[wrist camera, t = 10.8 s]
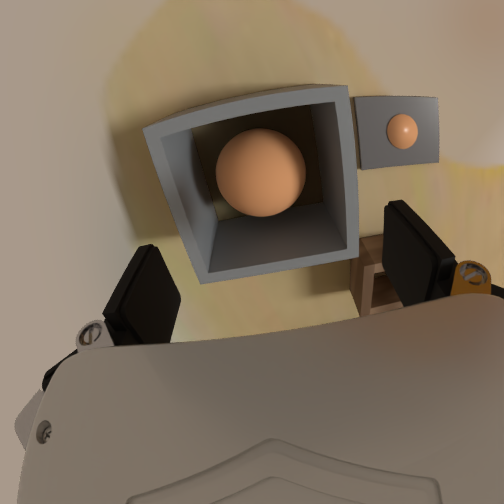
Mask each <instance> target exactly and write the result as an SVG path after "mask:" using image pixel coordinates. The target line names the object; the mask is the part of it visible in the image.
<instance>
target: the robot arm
mask: <svg viewBox="0 0 504 504" xmlns="http://www.w3.org/2000/svg"><path fill="white" fill-rule="evenodd" d="M382 266H383V269H384V271H385V272H386V274H387V276H388V278H389V280H390V282H391V283H392V285H393V287H394V289H395V291H396V293H397V295H398V297H399V299H400V301H401V303H402V305H403V307H402V308H398V309H394V310H389V311H385V312H381V313H376V314H372V315H367V316H363V317H358V318H353V319H348V320H343V321H338V322H332V323H327V324H321V325H315V326H310V327H304V328H298V329H291V330H285V331H278V332H271V333H264V334H256V335H248V336H240V337H231V338H222V339H212V340H201V341H189V342H176V343H170V340H171V336H172V332H173V329H174V325H175V321H176V317H177V314H178V310H179V306H180V303H181V296H180V293H179V291H178V289H177V287H176V285H175V283H174V281H173V279H172V277H171V275H170V272H169V270H168V268H167V266H166V264H165V262H164V259H163V257H162V255H161V253H160V251H159V249H158V247H154V245H153V244H149V245H144V246H140V247H138V249H137V251H136V252H135V254H134V256H133V257H132V259H131V261H130V263H129V264H128V267H127V268H126V270H125V272H124V273H123V275H122V277H121V279H120V281H119V283H118V284H117V286H116V288H115V290H114V292H113V294H112V296H111V297H110V300H109V302H108V303H107V305H106V307H105V309H104V311H103V313H102V314H103V315H104V317H105V321H104V322H103V321H101V320H94V321H92V322H89V323H88V324H86V325H85V326H84V327H83V328H82V329H81V330H80V331H79V333H78V335H77V337H76V346H77V349H76V350H75V351H74V352H72V353H71V354H69V355H68V356H67V357H65V358H64V359H63V360H61V361H60V362H59V363H58V364H56V365H55V366H53V367H52V368H51V369H49V370H48V371H47V372H46V373H45V375H44V379H43V382H42V388H43V391H41V390H39V391H38V392H37V393H36V394H35V395H34V396H33V398H32V399H31V400H30V401H29V403H28V404H27V405H26V406H25V407H24V409H23V410H22V411H21V413H20V414H19V415H18V417H17V418H16V421H15V431H16V434H17V435H18V438H19V440H20V442H21V443H22V445H23V447H24V449H25V451H26V452H25V456H24V460H23V466H22V471H21V476H20V483H19V490H18V498H17V504H504V288H501V287H499V286H496V285H493V284H491V275H490V273H489V271H488V270H487V269H486V268H485V267H484V266H483V265H482V264H480V263H478V262H475V261H470V260H468V261H462V262H460V263H459V264H458V263H457V262H456V260H455V255H454V254H453V253H452V252H451V251H450V249H449V248H448V247H447V246H446V245H445V244H444V243H443V241H442V240H441V239H440V238H439V237H438V236H437V235H436V234H435V233H434V231H433V230H432V229H431V228H430V227H429V226H428V225H427V224H426V223H425V222H424V221H423V220H422V219H421V218H420V217H419V216H418V215H417V214H416V213H415V212H414V211H413V210H412V209H411V208H410V207H409V206H408V205H407V204H406V203H405V202H404V201H403V200H396V201H389V203H388V205H386V206H385V208H384V233H383V250H382Z"/></svg>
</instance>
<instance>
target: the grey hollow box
mask: <svg viewBox="0 0 504 504" xmlns="http://www.w3.org/2000/svg"><path fill="white" fill-rule="evenodd" d="M308 104H310V108H311V114H312V120H313V126H314V133H315V140H316V146H317V154H318V161H319V169H320V177H321V185H322V195H323V202H321V203H315V204H309V205H303V206H298V207H292V208H287V209H286V210H284V211H282V212H280V213H278V214H275V215H271V216H265V217H257V216H251V215H248V216H243V217H238V218H233V219H228V220H223V221H218V218H217V215H216V212H215V208H214V205H213V202H212V198H211V195H210V192H209V189H208V185H207V182H206V179H205V175H204V172H203V169H202V165H201V162H200V158H199V155H198V151H197V148H196V145H195V141H194V138H193V134H192V131H191V128H194V127H198V126H201V125H205V124H209V123H213V122H217V121H221V120H225V119H230V118H234V117H238V116H243V115H248V114H253V113H258V112H263V111H269V110H275V109H281V108H287V107H294V106H301V105H308ZM142 130H143V133H144V136H145V139H146V142H147V145H148V148H149V151H150V154H151V157H152V160H153V163H154V166H155V169H156V172H157V175H158V178H159V180H160V183H161V186H162V189H163V191H164V194H165V197H166V200H167V202H168V205H169V208H170V210H171V213H172V216H173V218H174V221H175V223H176V226H177V229H178V231H179V234H180V236H181V239H182V241H183V244H184V246H185V249H186V251H187V254H188V256H189V258H190V261H191V263H192V266H193V268H194V270H195V273H196V275H197V278H198V280H199V282H200V284H206V283H212V282H219V281H225V280H231V279H237V278H244V277H250V276H256V275H262V274H268V273H273V272H279V271H285V270H291V269H297V268H302V267H308V266H313V265H319V264H324V263H330V262H335V261H341V260H346V259H351V258H356V257H359V202H358V180H357V164H356V151H355V140H354V131H353V122H352V114H351V106H350V99H349V92H348V86H346V85H331V84H310V85H302V86H294V87H287V88H280V89H274V90H268V91H262V92H257V93H252V94H247V95H242V96H237V97H233V98H228V99H224V100H220V101H216V102H212V103H208V104H204V105H201V106H197V107H194V108H190V109H187V110H183V111H180V112H177V113H174V114H172V115H170V116H168V117H165V118H163V119H161V120H159V121H157V122H155V123H153V124H151V125H148V126H146V127H144V128H142Z"/></svg>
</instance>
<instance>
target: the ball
mask: <svg viewBox="0 0 504 504" xmlns="http://www.w3.org/2000/svg"><path fill="white" fill-rule="evenodd" d="M305 178H306V166H305V162H304V159H303V156H302V154H301V152H300V150H299V148H298V147H297V146H296V144H295V143H294V142H293V141H292V140H291V139H289V138H288V137H287V136H285V135H283V134H282V133H280V132H277V131H274V130H271V129H264V128H257V129H251V130H247V131H244V132H242V133H240V134H238V135H236V136H235V137H233V138H232V139H231V140H230V141H229V142H228V143H227V144H226V145H225V146H224V148H223V149H222V151H221V153H220V155H219V157H218V160H217V165H216V180H217V184H218V187H219V190H220V192H221V194H222V196H223V197H224V198H225V200H226V201H227V202H228V203H229V204H230V205H231V206H232V207H233V208H235V209H236V210H238V211H240V212H242V213H244V214H247V215H251V216H257V217H265V216H271V215H275V214H278V213H280V212H282V211H284V210H286V209H287V208H289V207H290V206H291V205H292V204H293V203H294V202H295V201H296V200H297V198H298V197H299V195H300V194H301V192H302V190H303V187H304V184H305Z"/></svg>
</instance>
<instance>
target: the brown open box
mask: <svg viewBox="0 0 504 504" xmlns="http://www.w3.org/2000/svg"><path fill="white" fill-rule="evenodd" d="M382 250H383V234H381V235H376V236H370V237H365V238H359V257H356V258H351V270H350V291H351V294H352V296H353V299H354V302H355V304H356V307H357V310H358V313H359V315H360V317H363V316H367V315H372V314H376V313H381V312H385V311H389V310H394V309H398V308H402V307H403V305H402V303H401V301H400V299H399V297H398V295H397V293H396V291H395V289H394V287H393V285H392V283H391V282H390V280H389V278H388V276H387V275H386V276H382V277H377V278H374V273H379V272H383V271H384V269H383V266H382Z"/></svg>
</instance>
